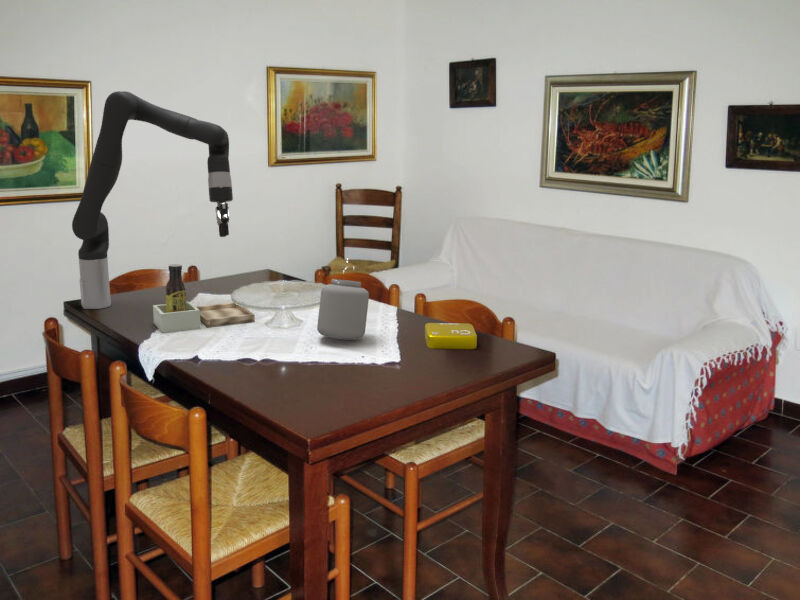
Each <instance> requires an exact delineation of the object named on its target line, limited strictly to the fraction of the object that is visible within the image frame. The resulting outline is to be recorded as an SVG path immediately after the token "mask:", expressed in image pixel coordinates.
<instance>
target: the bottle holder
mask: <svg viewBox="0 0 800 600" xmlns="http://www.w3.org/2000/svg"><path fill="white" fill-rule="evenodd" d="M152 311H153V312H152V317H153V324H154V326H155V327H157V328H158V330H159V331H160V333H162V334H164V333H171V332H172V333H173V332H181V331H190V330H197V329H201V326H202V325H201V322H200V310H199V309H198V308H197V306H196V305H194V304H193V303H192V302H191V301H186V311H179V312H170V313H166V303H165V304H162V303H161V304H153V305H152Z"/></svg>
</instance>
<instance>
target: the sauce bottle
mask: <svg viewBox="0 0 800 600" xmlns="http://www.w3.org/2000/svg"><path fill="white" fill-rule="evenodd" d="M182 269H183V265H181V264H180V263H179V264H177V263H176V264H169V265H168V272H169V276H168V277H169V279H168V281H167V282H166V284H165V285H166V286H165V304H166V313H170V312H179V311H186V302H187V290H186V287H185V285H184V282H183V281H184V280H183V277H182V271H183V270H182Z"/></svg>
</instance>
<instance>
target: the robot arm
mask: <svg viewBox="0 0 800 600" xmlns="http://www.w3.org/2000/svg"><path fill="white" fill-rule="evenodd" d="M129 120H131V121H132V120H133V121H139V122H144V123H147V124H150V125H154V126H155V127H158V128H160V129H163V130H164V131H166V132H168V133H170V134H173V135H176V136H179V137H182V138H184V139H187V140H188V139H189V140H196V141H197V142H201V143H202V144H206V145H208V157H207V160H206V162H207V176H208V177H207V182H208V184H207V185H208V197H209V202H210V203H216V204H217V206H215V214H216V217H215V218H216V223H217V226H218V233H219V237H220V238H225V237H227V236H229V235H230V232H229V223H230V222H229V221H230V213H229V211H230V210H229V209H230V208H229V204H228V202H232V201H233V200H234V197H233V184H232V183H233V182H232V177H231V171H230V167H231V166H230V160H229V157H230V155H229V154H230V137H229V133H228V132H227V131H226V130H225V129H224V128H223V127H222V126H221V125H218V124H216V123H212V122H210V121H204V120H200V119H197V118H195V117H192V116H190V115H186V114H182V113H180V112H177V111H173V110H171V109H170V110H169V109H166V108H164V107H161V106H159V105H155V104H154V103H150V102H149V101H147V100H145V99H143V98H141V97H139V96H137V95H136V94H134V93H132V92H130V91H125V90H124V91H120V90H119V91H113V92H112V93H110V94H109V95H108V96H107V98H106V99H105V102H104V107H103V111H102V120H101V126H100V130H99V133H98V137H97V140H96V143H95V147H94V151H93V153H92V157H91V161H90V164H89V168H88V172H87V176H86V179H85V184H84V187H83V191H82V195H81V198H80V201H79V202H78V203H79V204H78V206H77V208H76V211H75V213H74V215H73V218H72V223H71V228H72V232H73V234H74V236H75V237H76V238H78V239H80V240H82V244H81V246H80V248H79V249H78V253H77V254H78V267H79V287H80V289H79V290H80V291H79V293H80V302H81V307H82V309H84V310H99V309H105V308H108V307H110V306H111V305H112V303H111V291H110V290H111V287H110V277H109V276H110V275H109V274H110V273H109V272H110V271H109V261H108V259H109V258H108V251H109V248H110V238H109V237H110V234H109V233H110V231H109V222H108V219H107V217H106V215H105V214H104V213H102V212H101V211H102V209H103V208H102V207H103V205H104V203H105V201H106V199H107V197H108V196H109V194H110V193H111V191H112V190H113V188H114V186H115V185H116V183H117V181H118V178H119V175H120V170H121V167H122V163H123V136H124V133H125V130H126V127H127V124H128V122H129Z"/></svg>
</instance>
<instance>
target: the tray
mask: <svg viewBox="0 0 800 600" xmlns="http://www.w3.org/2000/svg"><path fill="white" fill-rule="evenodd" d="M235 303H236V302H228V303H217V304H207V305H200V306H199V305H198V306H196V307H197V308H198V309H199V310H200V324H202V325H203V326H204V327H206V328H213V327H214V328H215V327H223V326H224V327H225V326H231V325H239V324H248V323H255V322H256V321H255V320H256V318H255V317H256V316H255V313H253V312H252V311H250V310H249V309H247V308H246V307H245V306H243V307H241V306H239V305H236V304H235ZM244 307H245V308H244Z"/></svg>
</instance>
